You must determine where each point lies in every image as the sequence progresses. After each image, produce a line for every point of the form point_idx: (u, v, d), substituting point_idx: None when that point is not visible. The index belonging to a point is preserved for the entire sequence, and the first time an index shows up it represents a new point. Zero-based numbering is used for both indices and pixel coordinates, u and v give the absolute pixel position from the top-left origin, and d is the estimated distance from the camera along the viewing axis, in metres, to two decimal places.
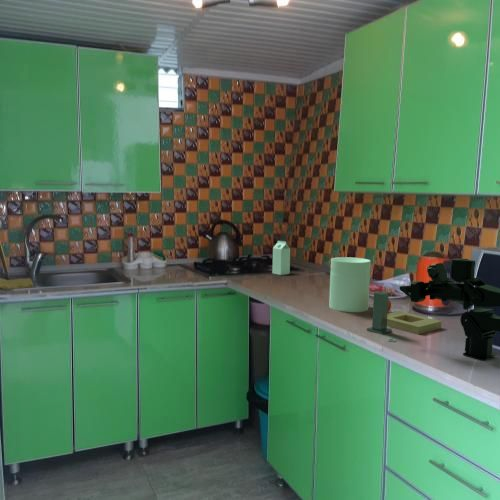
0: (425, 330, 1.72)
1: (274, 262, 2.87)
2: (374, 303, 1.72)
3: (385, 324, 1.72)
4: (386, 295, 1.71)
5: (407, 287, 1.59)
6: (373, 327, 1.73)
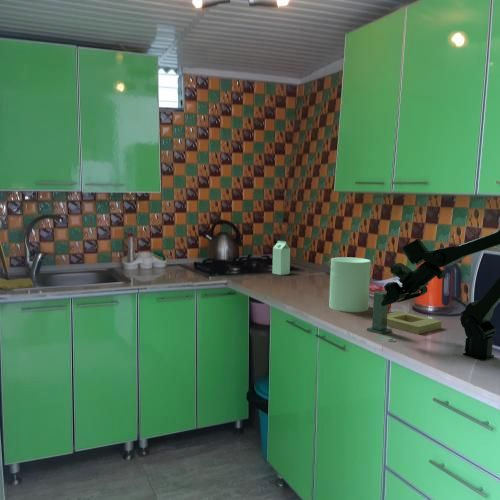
0: (425, 330, 1.72)
1: (274, 262, 2.87)
2: (374, 303, 1.72)
3: (385, 324, 1.72)
4: None
5: (386, 297, 1.63)
6: (373, 327, 1.73)
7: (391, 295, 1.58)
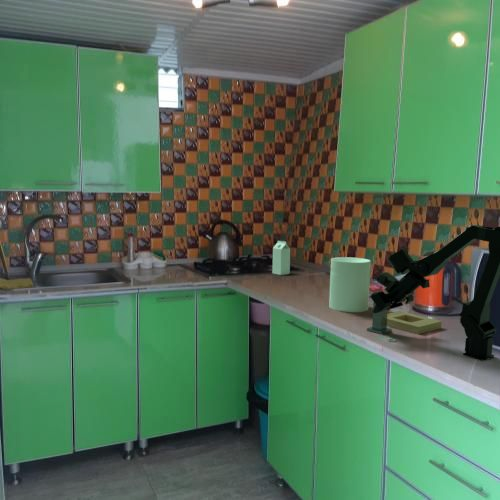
0: (425, 330, 1.72)
1: (274, 262, 2.87)
2: (374, 303, 1.72)
3: (385, 324, 1.72)
4: None
5: (377, 304, 1.69)
6: (373, 327, 1.73)
7: (377, 304, 1.62)
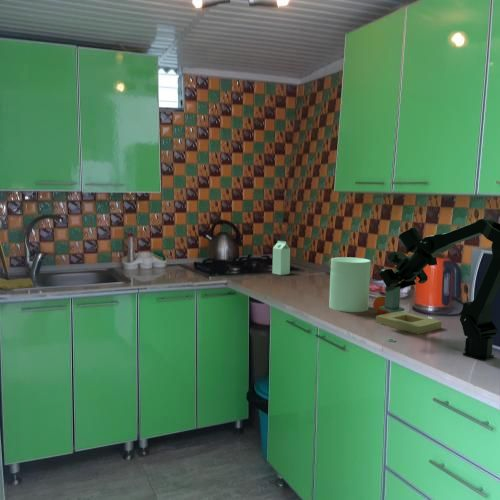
0: (425, 330, 1.72)
1: (274, 262, 2.87)
2: None
3: (397, 303, 1.75)
4: None
5: None
6: (385, 305, 1.76)
7: (384, 281, 1.66)
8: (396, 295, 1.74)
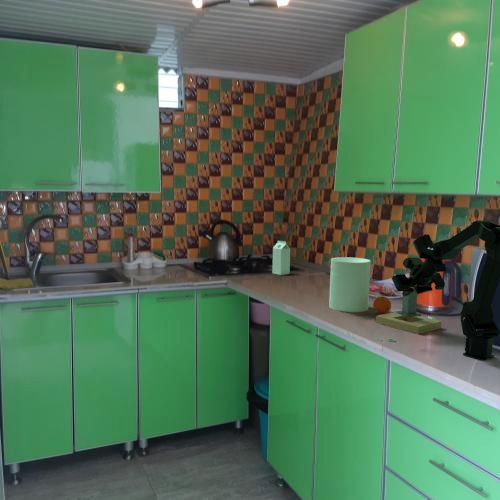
0: (425, 330, 1.72)
1: (274, 262, 2.87)
2: None
3: (414, 308, 1.79)
4: None
5: None
6: (402, 310, 1.81)
7: (395, 285, 1.72)
8: (412, 300, 1.78)
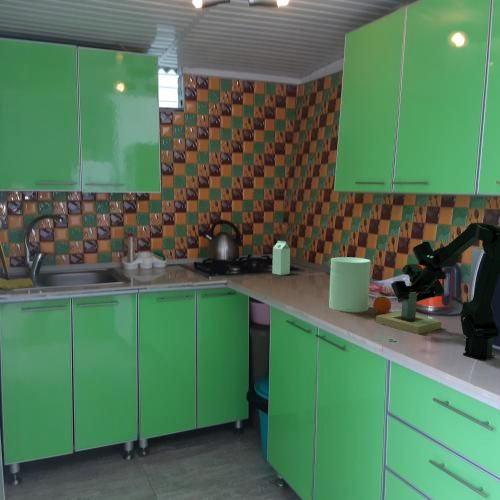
0: (425, 330, 1.72)
1: (274, 262, 2.87)
2: None
3: (413, 319, 1.79)
4: None
5: None
6: None
7: (395, 292, 1.72)
8: (411, 311, 1.79)
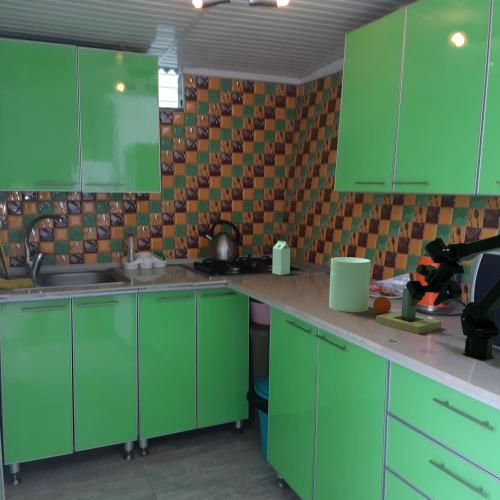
0: (425, 330, 1.72)
1: (274, 262, 2.87)
2: (402, 298, 1.81)
3: (413, 319, 1.79)
4: None
5: (412, 296, 1.67)
6: None
7: (410, 292, 1.62)
8: (411, 311, 1.79)
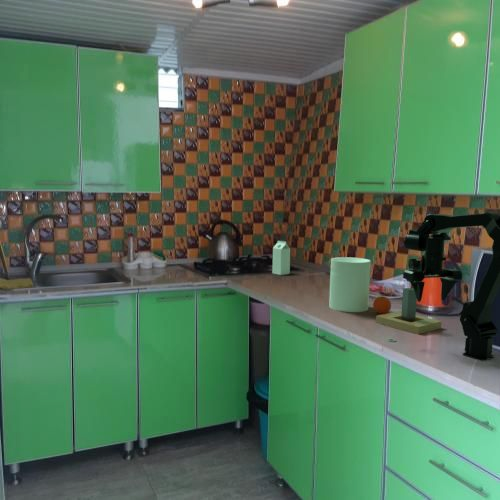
0: (425, 330, 1.72)
1: (274, 262, 2.87)
2: (402, 298, 1.81)
3: (413, 319, 1.79)
4: (414, 291, 1.78)
5: (414, 289, 1.60)
6: None
7: (409, 278, 1.57)
8: (411, 311, 1.79)
